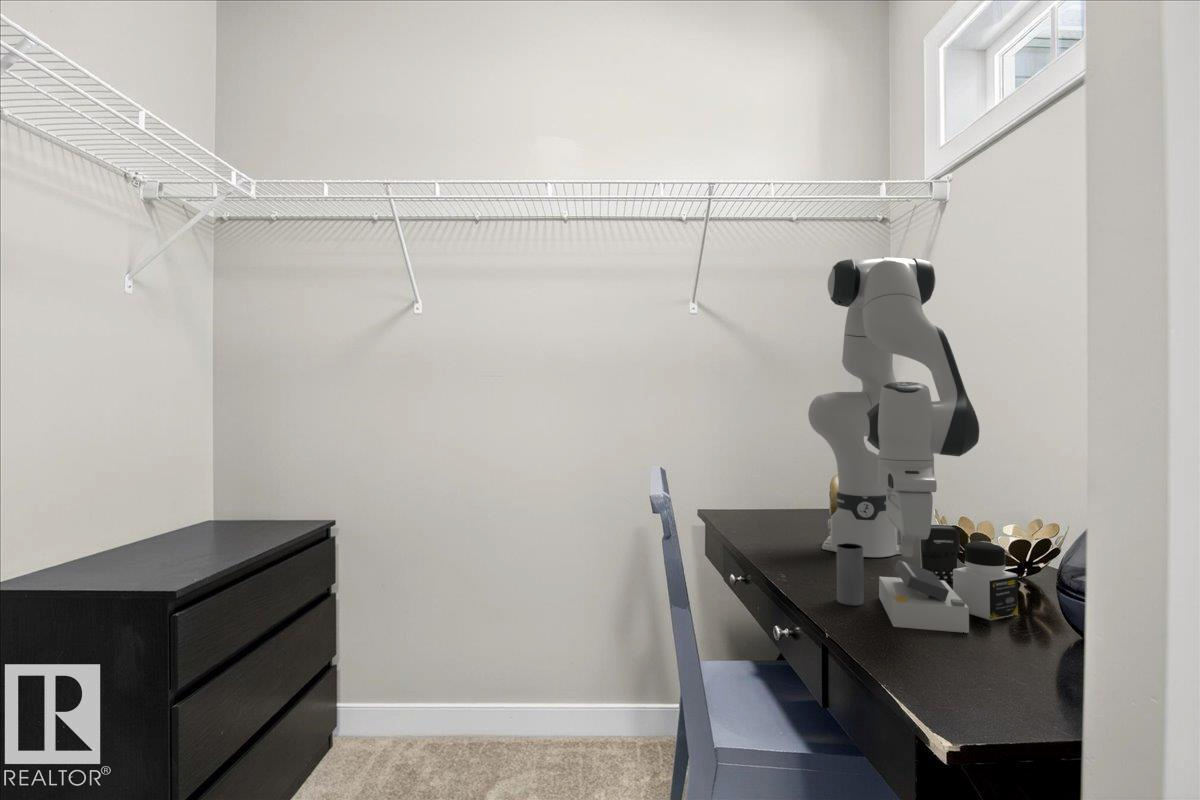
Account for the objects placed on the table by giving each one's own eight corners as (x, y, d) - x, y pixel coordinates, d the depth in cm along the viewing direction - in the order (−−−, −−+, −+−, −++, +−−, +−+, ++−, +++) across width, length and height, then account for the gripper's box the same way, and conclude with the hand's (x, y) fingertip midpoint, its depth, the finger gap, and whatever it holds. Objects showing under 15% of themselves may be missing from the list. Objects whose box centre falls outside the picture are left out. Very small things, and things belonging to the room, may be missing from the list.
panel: (879, 597, 121) (879, 572, 121) (944, 602, 118) (944, 576, 118) (893, 626, 105) (893, 597, 105) (968, 632, 102) (968, 602, 102)
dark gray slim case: (894, 568, 118) (898, 558, 118) (929, 581, 117) (932, 571, 117) (906, 587, 107) (910, 576, 107) (945, 601, 105) (949, 589, 105)
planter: (865, 606, 116) (865, 549, 116) (839, 605, 117) (838, 548, 117) (860, 599, 120) (860, 543, 120) (835, 597, 121) (834, 542, 121)
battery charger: (925, 583, 130) (924, 526, 130) (918, 578, 134) (918, 523, 134) (962, 584, 129) (962, 527, 129) (955, 579, 133) (954, 524, 133)
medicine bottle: (990, 621, 108) (990, 549, 108) (952, 608, 114) (951, 541, 114) (1018, 615, 111) (1018, 545, 111) (979, 603, 117) (979, 537, 117)
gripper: (877, 468, 123) (877, 541, 123) (895, 481, 103) (896, 568, 103) (913, 469, 121) (914, 543, 121) (939, 483, 102) (939, 570, 102)
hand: (906, 555), depth 112 cm, fingers closed
